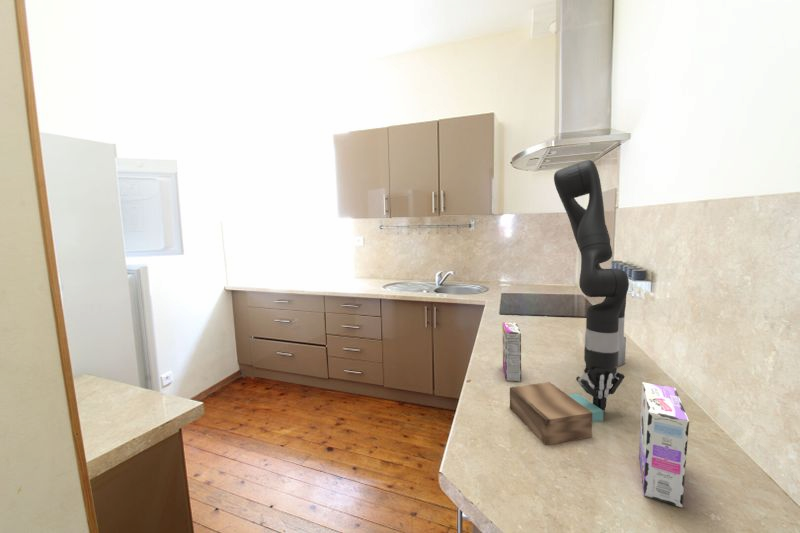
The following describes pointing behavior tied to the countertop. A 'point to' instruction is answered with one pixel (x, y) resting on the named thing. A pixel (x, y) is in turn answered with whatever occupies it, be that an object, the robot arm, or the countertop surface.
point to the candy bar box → (511, 351)
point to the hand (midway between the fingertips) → (599, 409)
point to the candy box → (663, 443)
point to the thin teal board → (589, 407)
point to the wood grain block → (550, 413)
